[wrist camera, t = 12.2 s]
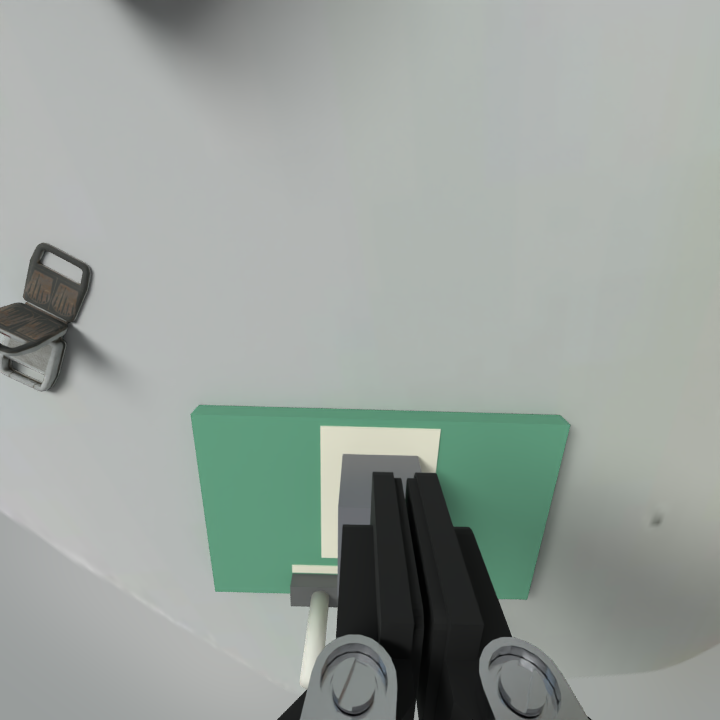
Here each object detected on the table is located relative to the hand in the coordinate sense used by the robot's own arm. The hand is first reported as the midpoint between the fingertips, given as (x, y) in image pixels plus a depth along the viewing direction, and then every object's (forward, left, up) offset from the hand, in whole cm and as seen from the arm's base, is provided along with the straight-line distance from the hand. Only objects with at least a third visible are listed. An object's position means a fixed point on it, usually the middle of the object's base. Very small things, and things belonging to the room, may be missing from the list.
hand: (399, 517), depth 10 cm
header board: (0, +10, -13) cm, 16 cm away
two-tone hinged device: (+19, -2, -13) cm, 23 cm away
